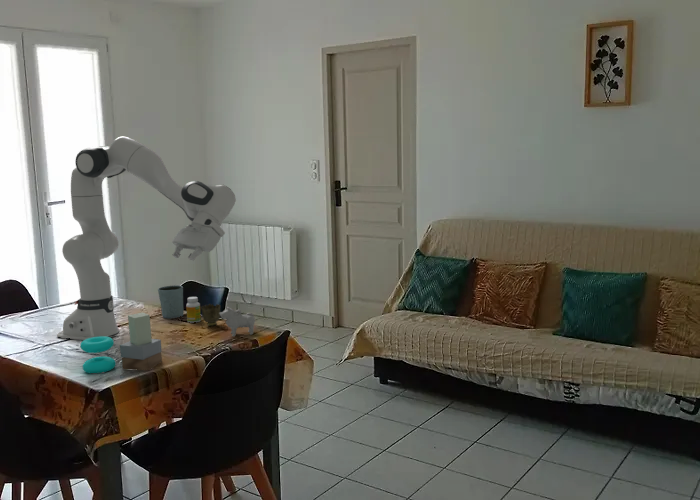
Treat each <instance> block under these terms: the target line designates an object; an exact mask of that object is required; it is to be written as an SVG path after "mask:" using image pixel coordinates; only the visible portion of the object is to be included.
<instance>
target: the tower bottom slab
mask: <svg viewBox="0 0 700 500" xmlns="http://www.w3.org/2000/svg"><path fill="white" fill-rule="evenodd" d="M162 359H163V357H162V352H160V353H157V354H155V355H153V356H151V357H148V358H146V359H144V360H141V359H132V358H124V357H121V363H122V370H123V369H137V370H136V371H150V370H152V369H153V368H155V367H156V366H158V365H159V364H161V363H162V362H163V360H162ZM160 362H161V363H160ZM157 364H158V365H157ZM154 366H155V367H154ZM151 368H152V369H151Z"/></svg>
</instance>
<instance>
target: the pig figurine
mask: <svg viewBox="0 0 700 500" xmlns="http://www.w3.org/2000/svg"><path fill="white" fill-rule="evenodd" d="M225 308H226V309H224V310H223V311H220V313H219V314H220V318H221V319H223V320H226V321H225V324H226V325H227V327H228V328H230V329H231V332H230V334H231V337H236V335H237V334H236V333H237V330H238V328H248V331H247V332H248V333H249V335H250V336H251V335H253V334H254V327H255V323H256V319H255V317H254V314H253V313H252V312H247V313H246V314H242V310H241V309H236V310H234V309H233V308H231V307H229V306H226V307H225Z"/></svg>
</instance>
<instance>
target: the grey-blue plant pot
mask: <svg viewBox="0 0 700 500" xmlns="http://www.w3.org/2000/svg"><path fill="white" fill-rule="evenodd" d="M157 291H158V298H159V302H160V306H161V316H162V318H164V319H177V317H178V318H181V317H183V316H184V313H185V312H184V311H185V310H184V287H183V286H182V285H176V284H175V285H166V286H161V287H158V288H157ZM180 316H181V317H180Z"/></svg>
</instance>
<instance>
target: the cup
mask: <svg viewBox="0 0 700 500" xmlns="http://www.w3.org/2000/svg"><path fill="white" fill-rule="evenodd" d="M220 304H221V303H220ZM220 304H218V303H216V304H215V305H214V304H213V303H209V304H205V305H202V306H200V310H201V313H202V315H201V316H202V318H203V320H204V322H206V323H207V326H208V327H215V326H216V325H217V324H218V323H217V322H218V321H219V319H220V318H221V316H220V314H219V313H220V312H221V305H220Z"/></svg>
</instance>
